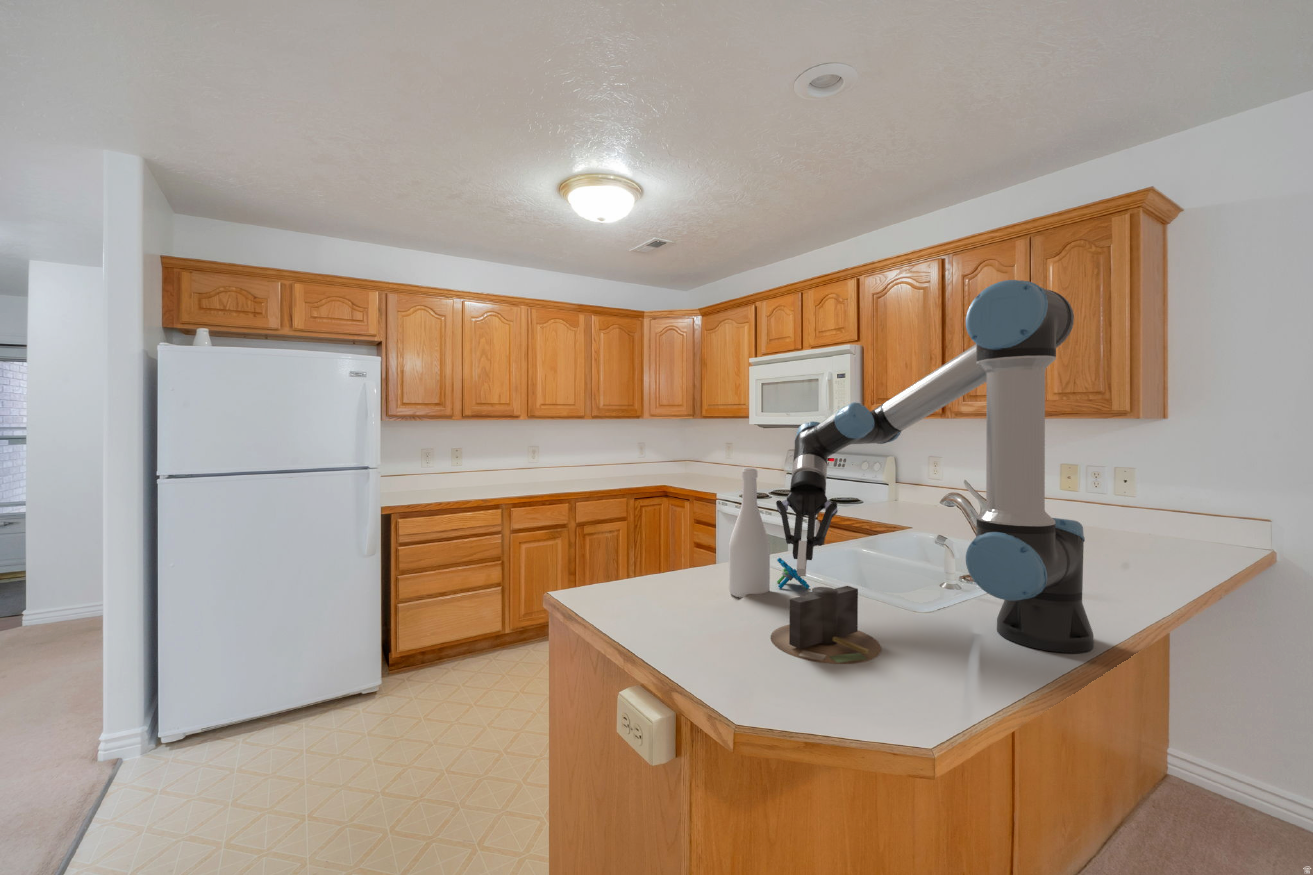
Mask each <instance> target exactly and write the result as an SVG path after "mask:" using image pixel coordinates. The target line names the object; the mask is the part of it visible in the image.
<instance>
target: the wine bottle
mask: <svg viewBox="0 0 1313 875" xmlns="http://www.w3.org/2000/svg"><path fill="white" fill-rule="evenodd" d="M741 478H742V490H741V492H742V496H741V498H742V499H741V500H742V501H741V506H740V509H739V513H738V515H737V518H736V521H735V524H734V528H733V530H732V532H731V535H730V539H729V544H728V590H729V593H730V594H731V595H732V596H733V597H736V598H738V597H739V598H738V599H742V598H744V597H746V596H747V595H760V594H765V593H768V592H771V591H770V586H771V585H770V583H771V582H770V581H771V580H770V579H771V577H770V576H771V575H770V574H771V573H770V572H771V557H770V556H771V554H770V552H771V546H770V542H769V537H768V534H767V531H766V529H765V526H764V522H763V519H762V516H761V512H760V510H759V506H758V505H759V504H758V497H757V496H758V495H757V493H758V492H757V491H758V490H757V478H758V470H757V467H743V468H742V470H741Z"/></svg>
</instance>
